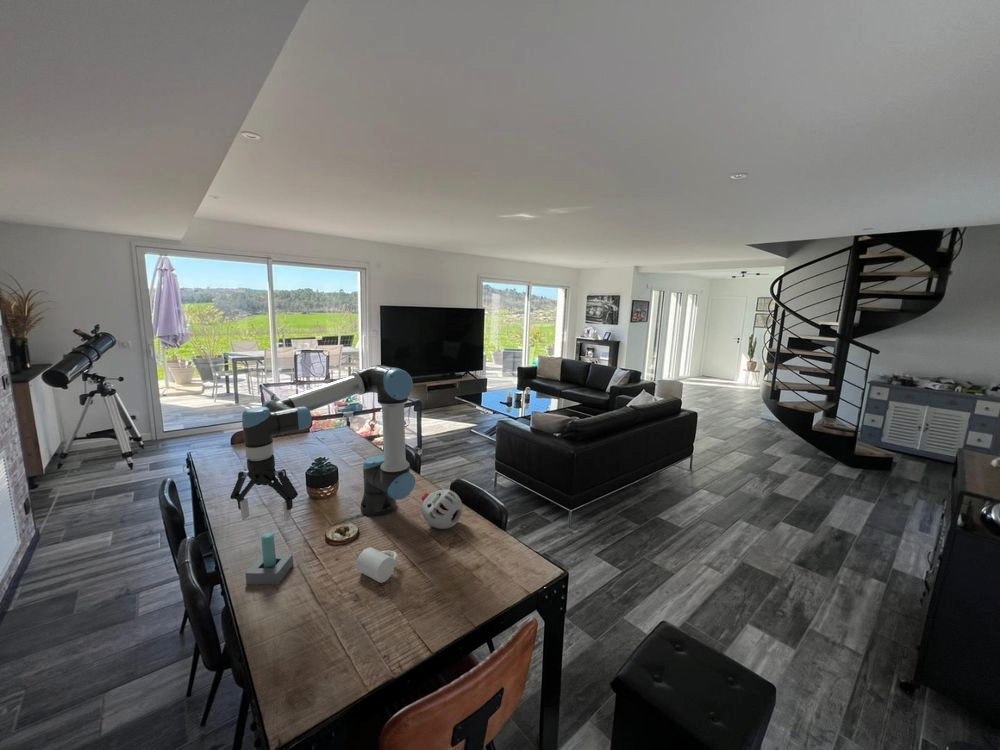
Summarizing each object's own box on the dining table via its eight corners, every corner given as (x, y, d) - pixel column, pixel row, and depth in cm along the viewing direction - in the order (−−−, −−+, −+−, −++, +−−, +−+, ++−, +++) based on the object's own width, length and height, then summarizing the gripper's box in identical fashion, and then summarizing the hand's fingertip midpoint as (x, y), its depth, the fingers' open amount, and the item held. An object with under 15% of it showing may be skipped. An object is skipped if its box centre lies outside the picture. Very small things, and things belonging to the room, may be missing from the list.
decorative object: (436, 509, 178) (436, 478, 175) (469, 523, 167) (469, 490, 164) (410, 524, 165) (409, 490, 162) (443, 541, 154) (443, 505, 152)
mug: (377, 588, 129) (376, 565, 127) (356, 576, 134) (355, 554, 132) (404, 567, 139) (403, 546, 137) (384, 557, 144) (383, 537, 142)
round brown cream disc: (323, 528, 162) (323, 519, 161) (362, 524, 166) (362, 514, 165) (318, 550, 148) (318, 540, 147) (361, 544, 152) (361, 534, 151)
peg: (279, 570, 135) (276, 532, 133) (273, 577, 132) (270, 539, 129) (268, 570, 135) (265, 532, 133) (262, 577, 132) (258, 539, 129)
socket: (293, 564, 139) (292, 554, 138) (277, 584, 129) (276, 573, 128) (264, 564, 139) (263, 553, 138) (246, 584, 129) (245, 573, 128)
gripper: (305, 452, 130) (310, 512, 134) (228, 451, 130) (235, 511, 134) (294, 461, 123) (299, 524, 127) (212, 460, 122) (220, 524, 126)
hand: (266, 518), depth 130 cm, fingers open, 13 cm apart
